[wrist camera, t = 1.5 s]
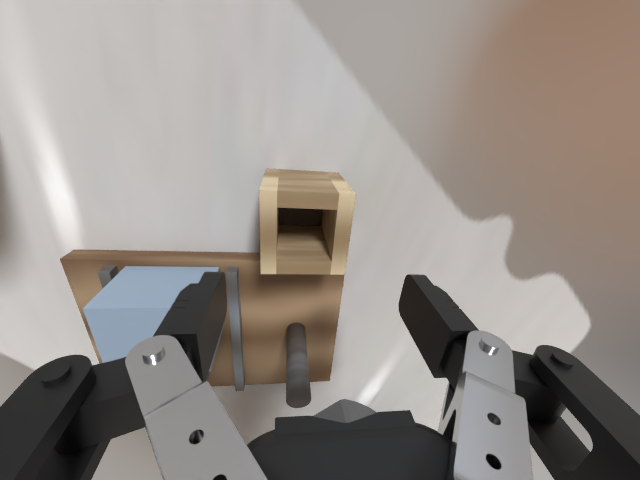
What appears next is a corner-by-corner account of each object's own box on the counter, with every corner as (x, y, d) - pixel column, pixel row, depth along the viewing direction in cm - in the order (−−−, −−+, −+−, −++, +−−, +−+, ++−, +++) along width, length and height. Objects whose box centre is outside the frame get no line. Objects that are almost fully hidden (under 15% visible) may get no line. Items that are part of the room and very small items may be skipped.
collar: (266, 168, 21) (259, 189, 15) (338, 172, 21) (356, 194, 16) (266, 235, 23) (260, 273, 18) (331, 237, 24) (344, 274, 18)
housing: (125, 266, 21) (82, 308, 17) (219, 267, 22) (202, 307, 18) (141, 325, 24) (107, 375, 19) (224, 323, 25) (210, 371, 20)
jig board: (73, 249, 22) (-41, 325, 14) (342, 254, 25) (367, 319, 17) (118, 377, 28) (56, 477, 21) (327, 369, 31) (341, 453, 23)
